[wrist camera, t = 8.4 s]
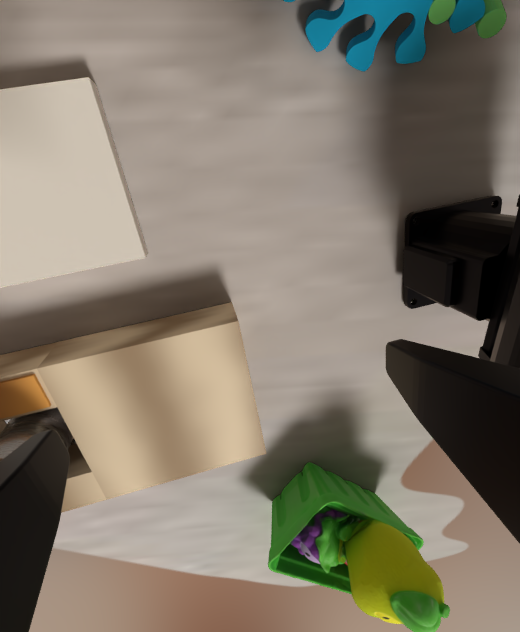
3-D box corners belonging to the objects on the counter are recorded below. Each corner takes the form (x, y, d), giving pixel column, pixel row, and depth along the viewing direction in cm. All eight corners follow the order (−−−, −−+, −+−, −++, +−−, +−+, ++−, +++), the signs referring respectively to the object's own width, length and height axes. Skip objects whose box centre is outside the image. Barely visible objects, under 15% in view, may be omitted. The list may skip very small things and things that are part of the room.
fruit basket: (250, 506, 28) (285, 693, 18) (316, 434, 26) (397, 594, 16) (340, 539, 33) (409, 704, 22) (401, 479, 31) (507, 628, 21)
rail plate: (231, 302, 21) (238, 322, 18) (257, 423, 25) (267, 455, 22) (-81, 373, 18) (-131, 409, 16) (5, 492, 23) (-22, 539, 20)
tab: (95, 84, 15) (88, 77, 14) (148, 253, 18) (145, 257, 17) (-145, 118, 14) (-173, 113, 13) (-43, 292, 17) (-59, 299, 16)
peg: (75, 374, 20) (25, 462, 14) (105, 436, 23) (73, 537, 16) (-14, 395, 20) (-109, 498, 13) (25, 457, 22) (-41, 571, 16)
